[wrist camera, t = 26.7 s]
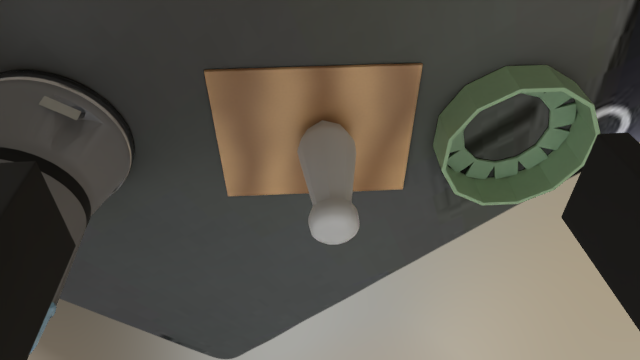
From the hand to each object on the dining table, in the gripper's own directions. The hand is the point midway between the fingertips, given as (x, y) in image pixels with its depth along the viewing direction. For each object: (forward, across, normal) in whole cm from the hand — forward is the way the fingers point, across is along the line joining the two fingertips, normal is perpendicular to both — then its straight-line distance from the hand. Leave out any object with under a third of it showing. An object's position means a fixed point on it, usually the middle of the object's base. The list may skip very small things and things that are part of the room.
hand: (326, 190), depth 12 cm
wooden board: (+32, +2, -20) cm, 38 cm away
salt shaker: (+32, +3, -20) cm, 37 cm away
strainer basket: (+31, +22, -20) cm, 43 cm away
